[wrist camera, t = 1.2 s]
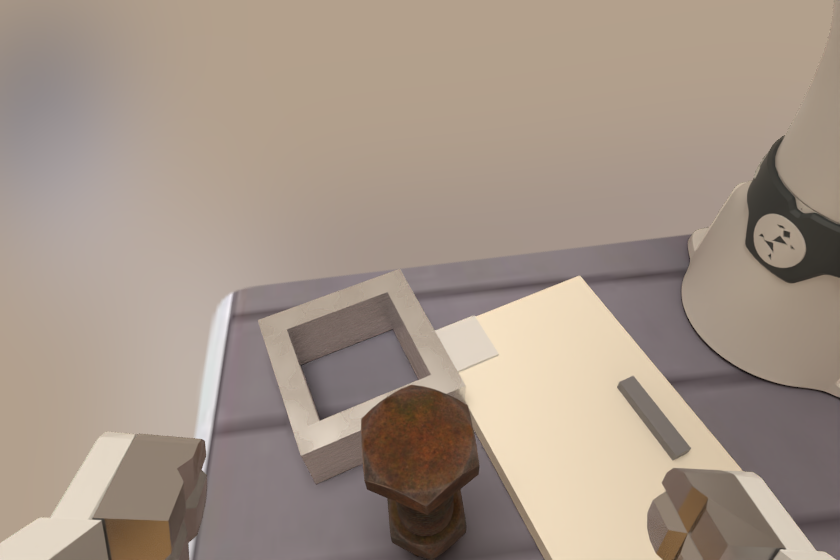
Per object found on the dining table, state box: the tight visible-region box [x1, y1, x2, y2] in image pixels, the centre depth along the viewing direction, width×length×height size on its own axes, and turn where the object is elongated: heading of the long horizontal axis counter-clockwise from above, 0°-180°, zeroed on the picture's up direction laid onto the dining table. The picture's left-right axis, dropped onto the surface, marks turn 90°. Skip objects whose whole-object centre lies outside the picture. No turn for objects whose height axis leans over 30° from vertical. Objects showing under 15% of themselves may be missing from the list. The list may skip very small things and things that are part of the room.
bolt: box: [361, 385, 479, 560], centre depth 31 cm, size 6×5×15 cm
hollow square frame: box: [258, 269, 466, 484], centre depth 42 cm, size 12×12×5 cm
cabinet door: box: [435, 276, 742, 560], centre depth 40 cm, size 14×22×3 cm, turn 24°
